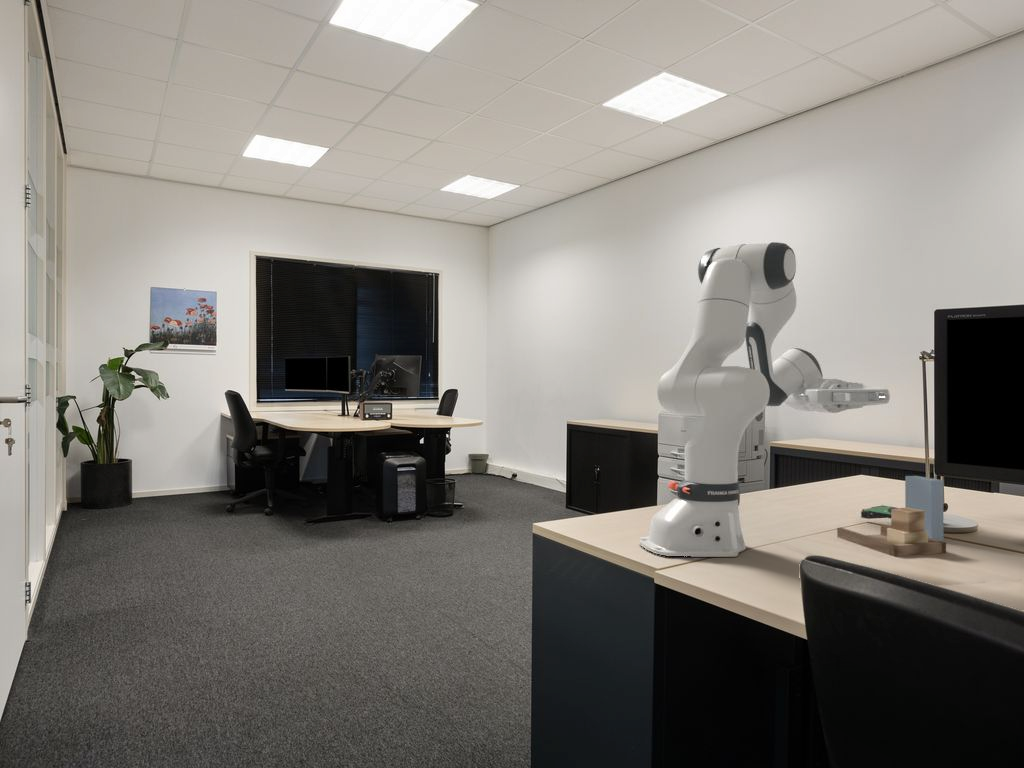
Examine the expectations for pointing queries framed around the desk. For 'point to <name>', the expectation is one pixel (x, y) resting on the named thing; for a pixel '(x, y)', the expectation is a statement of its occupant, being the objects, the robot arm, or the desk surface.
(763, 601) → the desk surface
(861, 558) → the desk surface
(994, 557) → the desk surface
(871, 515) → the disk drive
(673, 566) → the desk surface
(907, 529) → the offcut top
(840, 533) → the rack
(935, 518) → the blue rectangular block
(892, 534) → the block
